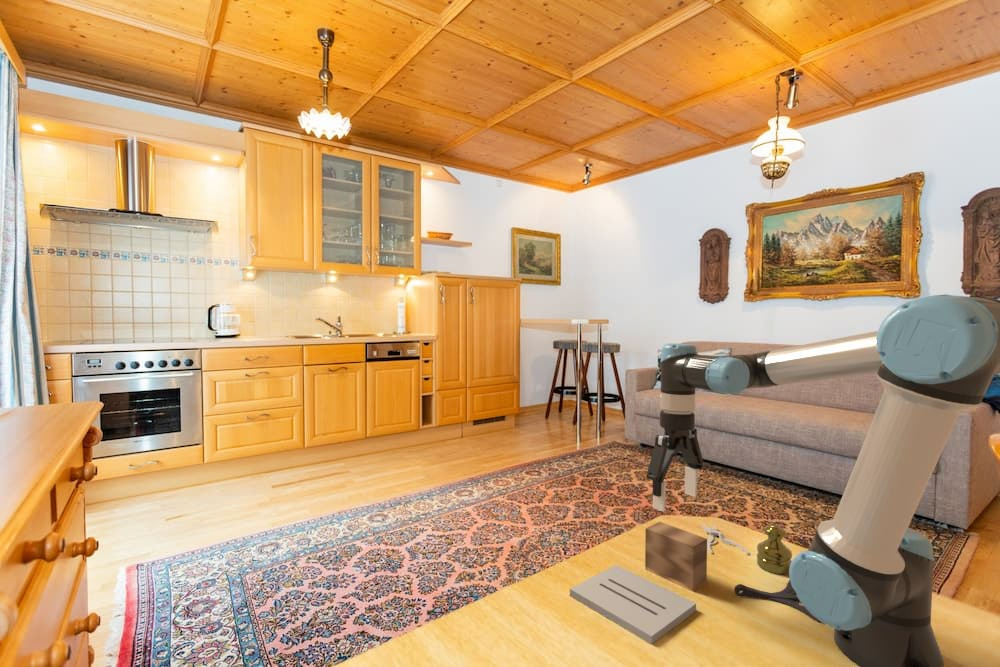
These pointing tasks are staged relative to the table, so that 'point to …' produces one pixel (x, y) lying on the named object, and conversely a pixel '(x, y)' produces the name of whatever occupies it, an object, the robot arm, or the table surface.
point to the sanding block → (676, 555)
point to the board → (633, 602)
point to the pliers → (715, 533)
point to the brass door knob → (774, 551)
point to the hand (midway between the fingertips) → (675, 502)
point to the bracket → (775, 596)
